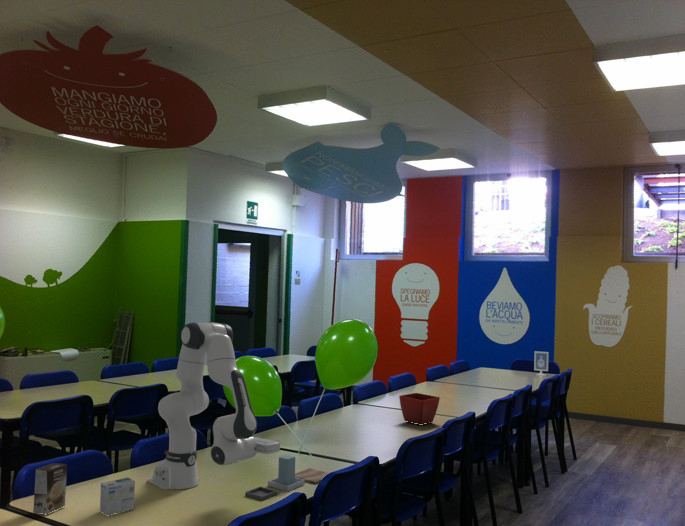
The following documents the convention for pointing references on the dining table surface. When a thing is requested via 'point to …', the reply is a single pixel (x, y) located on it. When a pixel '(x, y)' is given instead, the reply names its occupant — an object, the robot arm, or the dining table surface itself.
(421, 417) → the plant pot
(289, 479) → the blue-grey block
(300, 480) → the frame
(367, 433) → the dining table surface
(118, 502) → the light bulb box
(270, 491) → the tray
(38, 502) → the coffee box
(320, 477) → the walnut board
